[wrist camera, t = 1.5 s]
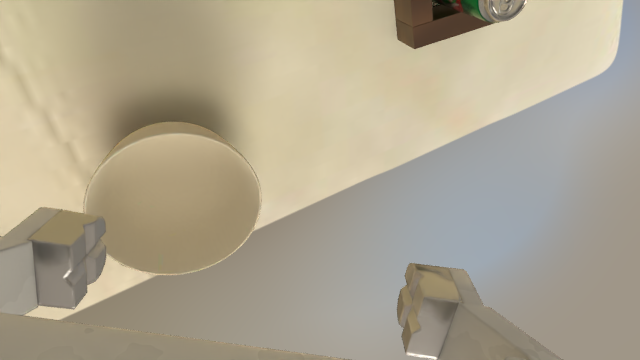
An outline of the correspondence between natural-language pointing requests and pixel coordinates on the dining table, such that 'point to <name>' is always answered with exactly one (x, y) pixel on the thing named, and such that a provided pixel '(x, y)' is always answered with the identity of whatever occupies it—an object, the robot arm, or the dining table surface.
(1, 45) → the dining table surface
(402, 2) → the can holder
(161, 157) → the bowl
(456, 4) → the soda can
